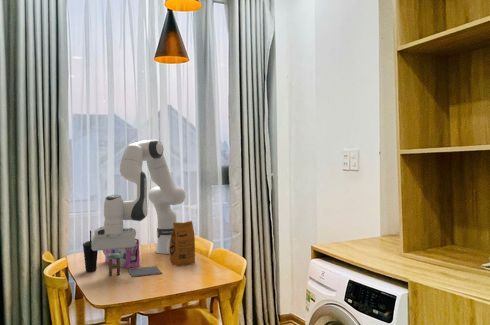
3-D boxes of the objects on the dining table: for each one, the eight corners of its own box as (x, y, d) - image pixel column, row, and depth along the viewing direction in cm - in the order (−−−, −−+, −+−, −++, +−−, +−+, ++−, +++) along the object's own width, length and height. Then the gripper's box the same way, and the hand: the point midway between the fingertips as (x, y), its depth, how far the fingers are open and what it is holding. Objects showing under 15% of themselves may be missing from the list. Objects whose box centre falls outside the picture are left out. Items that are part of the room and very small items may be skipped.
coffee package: (168, 262, 219) (167, 221, 219) (190, 260, 225) (189, 219, 225) (174, 267, 211) (173, 223, 211) (196, 263, 216) (196, 221, 216)
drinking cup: (102, 269, 208) (101, 229, 208) (92, 273, 201) (91, 232, 201) (90, 268, 210) (89, 229, 210) (79, 272, 203) (78, 231, 203)
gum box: (141, 266, 214) (141, 239, 214) (128, 269, 208) (127, 242, 208) (117, 259, 230) (117, 234, 230) (104, 261, 225) (104, 236, 225)
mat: (156, 267, 211) (156, 266, 211) (161, 273, 198) (161, 272, 198) (128, 270, 205) (128, 269, 205) (131, 277, 192) (131, 276, 192)
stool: (119, 272, 202) (119, 252, 202) (120, 274, 197) (120, 255, 197) (108, 273, 200) (108, 253, 200) (109, 276, 195) (108, 256, 195)
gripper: (135, 226, 205) (135, 254, 205) (91, 229, 197) (91, 258, 197) (136, 228, 199) (137, 257, 199) (91, 232, 191) (92, 261, 191)
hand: (114, 258), depth 198 cm, fingers closed on stool, 5 cm apart
